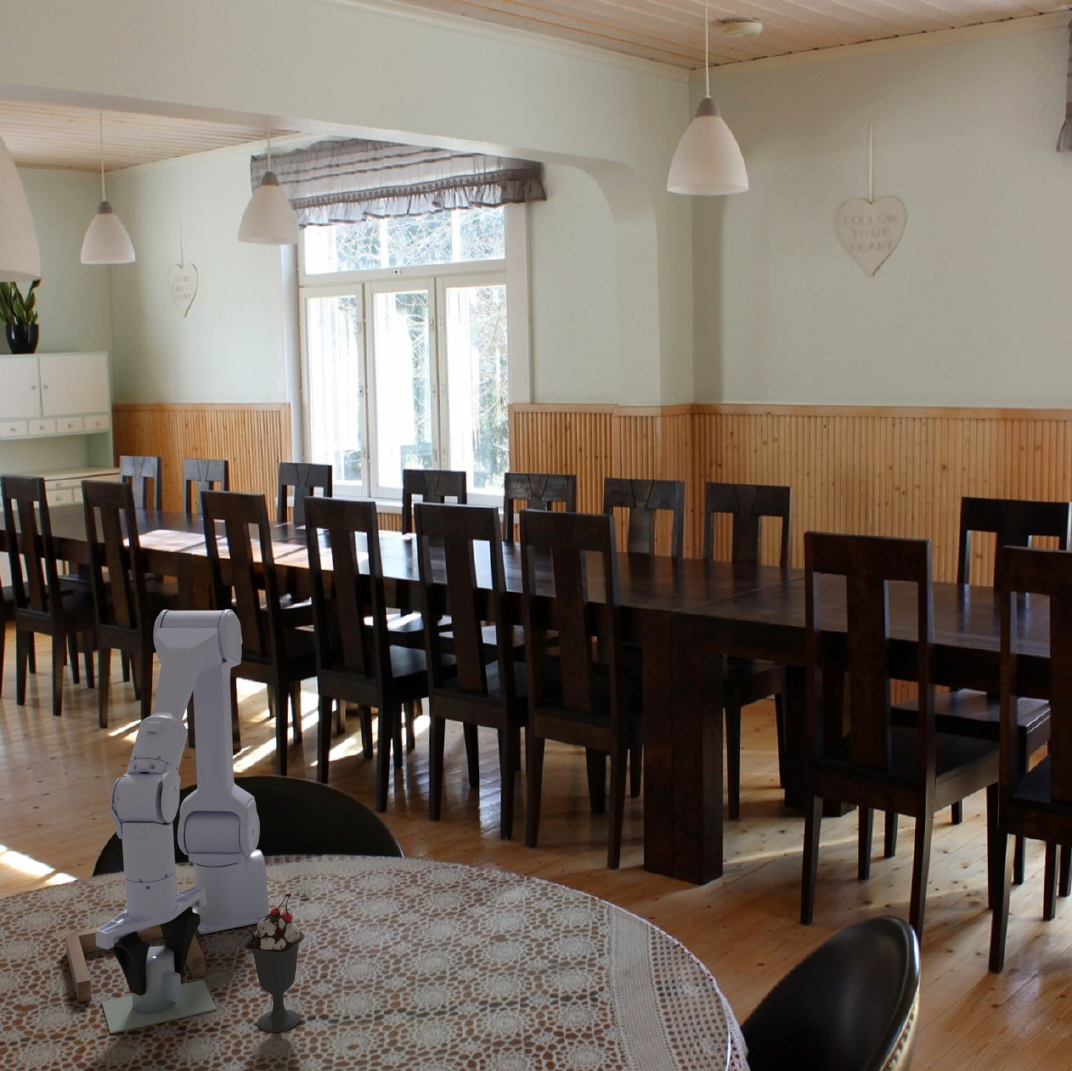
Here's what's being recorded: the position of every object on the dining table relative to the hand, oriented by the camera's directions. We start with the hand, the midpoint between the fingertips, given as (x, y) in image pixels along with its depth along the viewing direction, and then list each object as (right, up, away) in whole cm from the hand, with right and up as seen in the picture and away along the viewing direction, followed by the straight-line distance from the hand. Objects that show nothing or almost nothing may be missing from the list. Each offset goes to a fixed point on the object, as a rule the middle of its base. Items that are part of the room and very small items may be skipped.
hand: (157, 982), depth 154 cm
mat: (0, -3, 0) cm, 3 cm away
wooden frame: (-6, -2, +12) cm, 13 cm away
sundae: (+15, -3, -4) cm, 16 cm away
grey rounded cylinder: (-1, -3, +1) cm, 3 cm away
